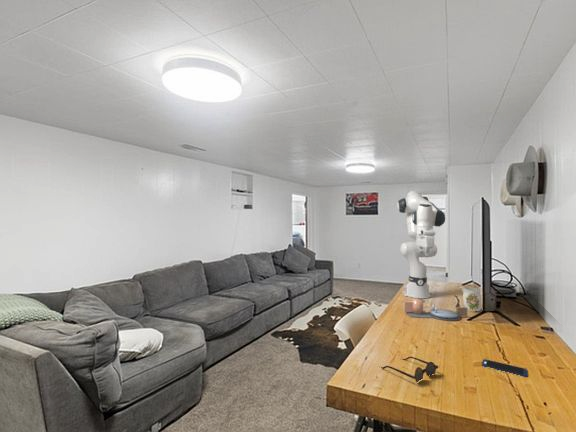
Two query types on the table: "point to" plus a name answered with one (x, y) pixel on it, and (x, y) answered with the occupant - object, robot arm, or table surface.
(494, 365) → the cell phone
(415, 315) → the mat
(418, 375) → the eyeglasses
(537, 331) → the table surface
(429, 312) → the base plate
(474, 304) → the pitcher
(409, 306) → the jug
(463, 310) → the turntable
